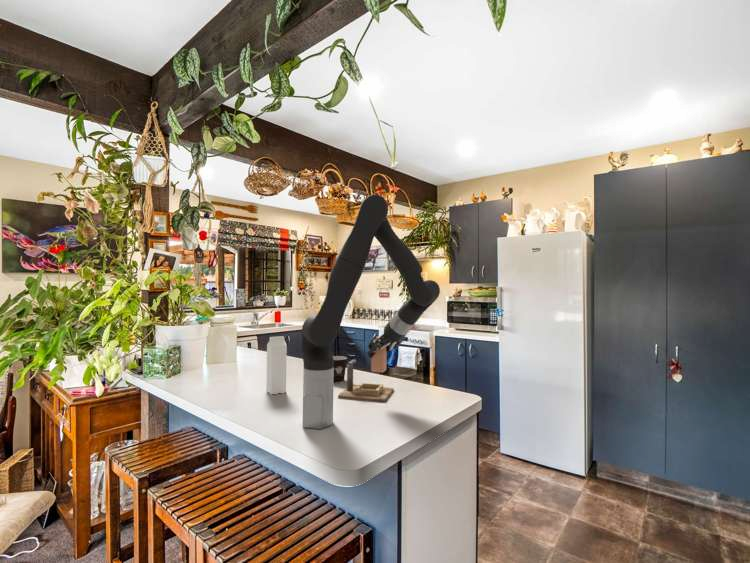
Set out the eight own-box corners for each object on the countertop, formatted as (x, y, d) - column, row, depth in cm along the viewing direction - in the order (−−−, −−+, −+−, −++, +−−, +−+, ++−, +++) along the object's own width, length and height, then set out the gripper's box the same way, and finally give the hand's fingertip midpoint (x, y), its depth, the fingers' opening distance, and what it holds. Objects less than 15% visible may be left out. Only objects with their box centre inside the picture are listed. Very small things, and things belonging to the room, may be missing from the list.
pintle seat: (384, 402, 136) (384, 369, 137) (338, 397, 141) (338, 366, 141) (393, 390, 152) (393, 360, 152) (351, 386, 156) (351, 358, 157)
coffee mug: (348, 378, 171) (348, 356, 171) (344, 383, 162) (345, 360, 162) (323, 377, 172) (323, 355, 172) (318, 382, 163) (318, 359, 163)
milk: (266, 391, 148) (266, 336, 149) (280, 389, 152) (281, 335, 152) (271, 395, 143) (271, 337, 144) (286, 392, 147) (286, 336, 147)
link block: (383, 372, 133) (383, 338, 133) (371, 371, 134) (371, 338, 134) (386, 369, 137) (386, 337, 137) (374, 368, 138) (375, 336, 139)
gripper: (408, 316, 135) (385, 345, 144) (378, 318, 126) (356, 349, 134) (419, 332, 131) (394, 361, 140) (389, 336, 121) (365, 366, 130)
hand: (375, 355), depth 137 cm, fingers closed on link block, 6 cm apart
